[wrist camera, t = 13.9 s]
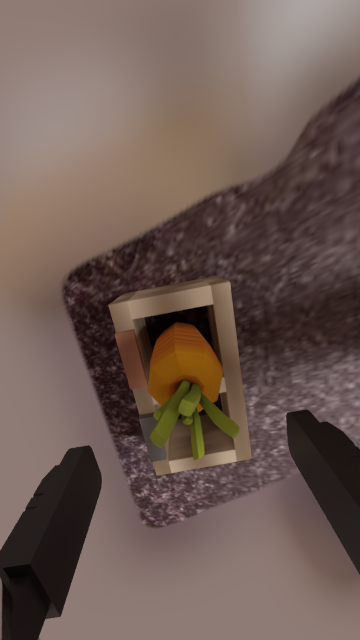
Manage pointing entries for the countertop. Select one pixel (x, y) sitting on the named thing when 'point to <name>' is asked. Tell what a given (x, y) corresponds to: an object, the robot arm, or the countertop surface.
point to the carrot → (186, 385)
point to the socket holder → (137, 367)
